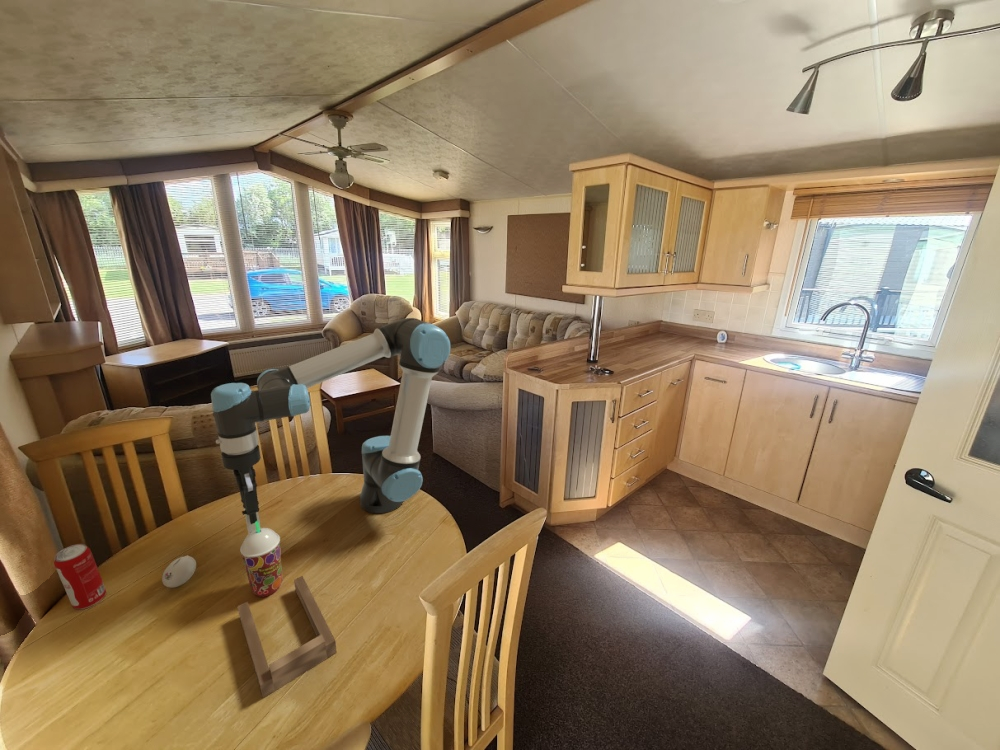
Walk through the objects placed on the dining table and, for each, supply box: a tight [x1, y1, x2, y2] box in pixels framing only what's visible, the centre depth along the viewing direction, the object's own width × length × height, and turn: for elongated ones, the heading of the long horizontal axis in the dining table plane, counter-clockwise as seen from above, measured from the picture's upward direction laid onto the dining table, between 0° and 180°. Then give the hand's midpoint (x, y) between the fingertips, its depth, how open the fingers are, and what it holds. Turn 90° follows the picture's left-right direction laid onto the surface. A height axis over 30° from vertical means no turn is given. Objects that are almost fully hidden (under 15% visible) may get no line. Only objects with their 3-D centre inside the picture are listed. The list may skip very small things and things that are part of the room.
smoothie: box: [239, 521, 284, 598], centre depth 96 cm, size 8×8×20 cm
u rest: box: [237, 575, 338, 699], centre depth 87 cm, size 14×22×5 cm, turn 42°
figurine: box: [161, 554, 197, 588], centre depth 98 cm, size 8×6×7 cm
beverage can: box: [53, 543, 107, 610], centre depth 91 cm, size 6×6×15 cm
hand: (254, 530), depth 100 cm, fingers closed
